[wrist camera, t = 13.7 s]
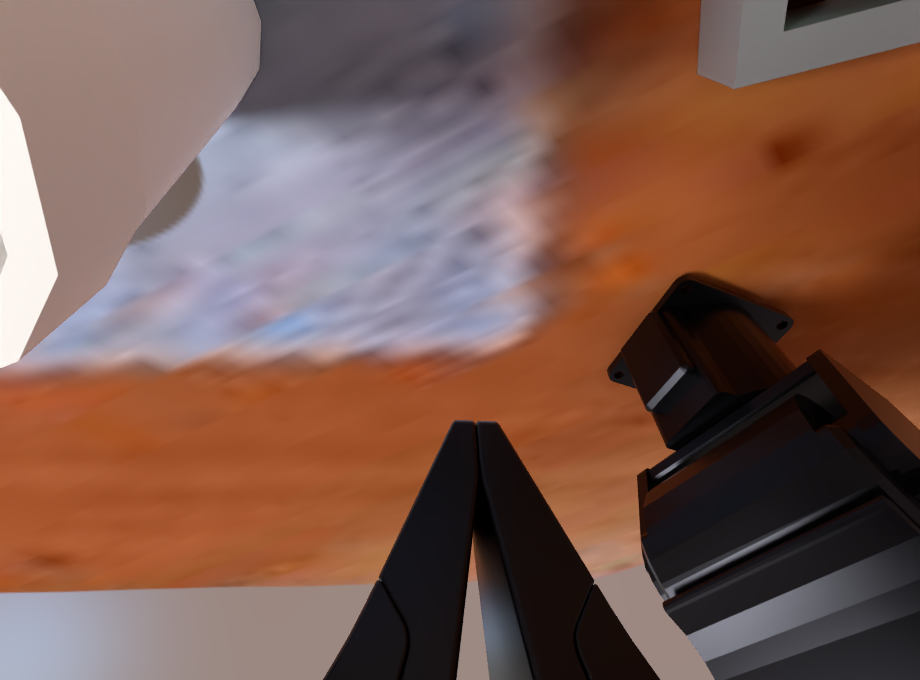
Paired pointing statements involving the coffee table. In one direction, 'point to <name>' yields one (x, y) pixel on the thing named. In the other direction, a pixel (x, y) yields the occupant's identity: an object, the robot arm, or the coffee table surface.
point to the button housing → (797, 36)
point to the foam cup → (101, 136)
